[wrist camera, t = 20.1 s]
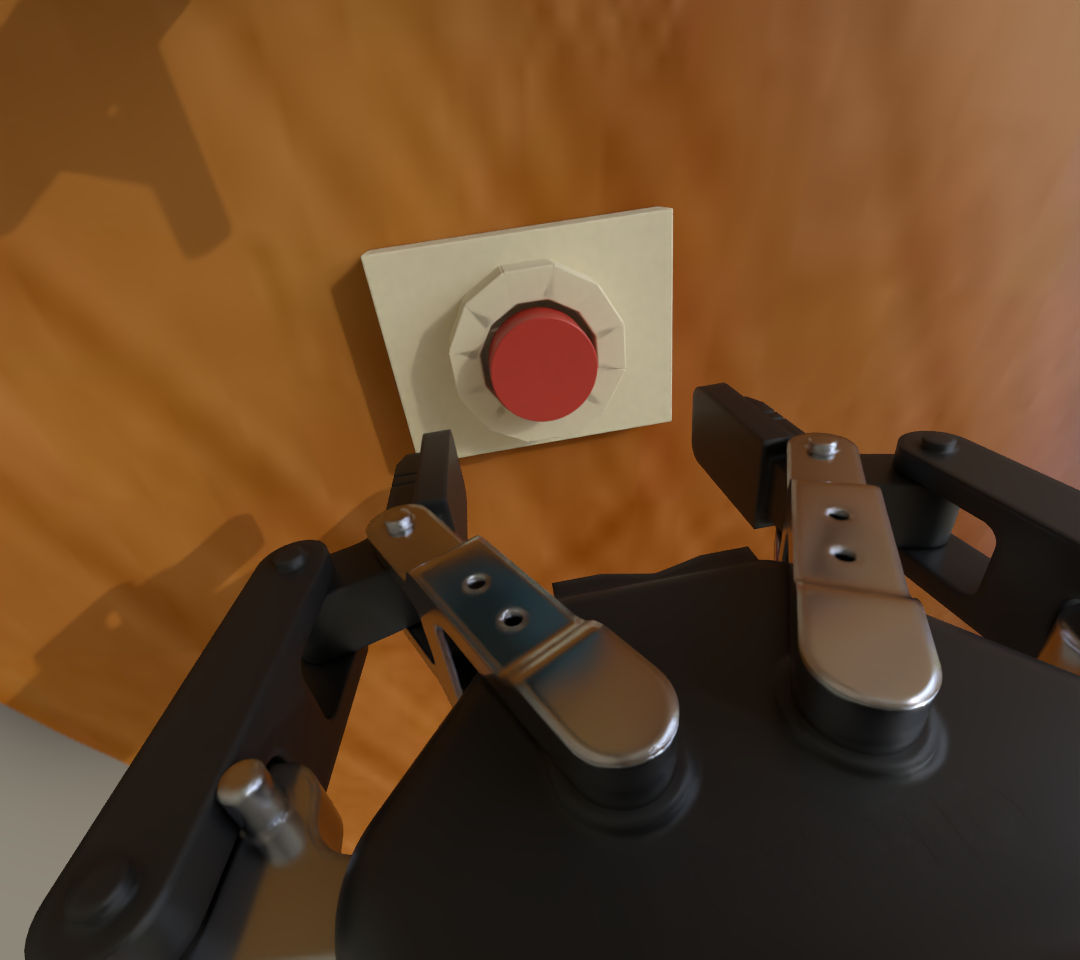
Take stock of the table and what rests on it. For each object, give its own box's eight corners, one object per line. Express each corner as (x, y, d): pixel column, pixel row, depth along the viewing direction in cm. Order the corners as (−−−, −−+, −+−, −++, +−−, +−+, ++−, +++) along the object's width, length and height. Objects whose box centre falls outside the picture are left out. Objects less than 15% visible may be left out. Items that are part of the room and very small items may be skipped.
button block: (421, 448, 25) (416, 485, 22) (367, 250, 21) (350, 262, 18) (660, 407, 26) (686, 437, 23) (659, 206, 21) (691, 210, 18)
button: (497, 412, 21) (500, 430, 20) (479, 315, 19) (481, 326, 18) (591, 396, 22) (601, 412, 20) (583, 298, 20) (594, 308, 18)
